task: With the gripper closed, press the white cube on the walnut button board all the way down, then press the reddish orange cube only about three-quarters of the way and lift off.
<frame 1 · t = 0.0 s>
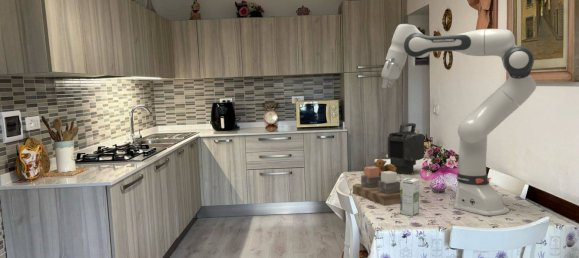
hand: (386, 87, 203), 52 cm above the table, tool tilted 20°, fingers open, 8 cm apart
stuffed squirrel: (382, 182, 242), on the table
black device with handle: (404, 173, 265), on the table
white cube: (388, 177, 202), point 11 cm above the table, slide at 0.0 cm
reddish orange cube: (371, 172, 215), point 11 cm above the table, slide at 0.0 cm
button board: (380, 197, 209), on the table
syrup box: (409, 214, 182), on the table
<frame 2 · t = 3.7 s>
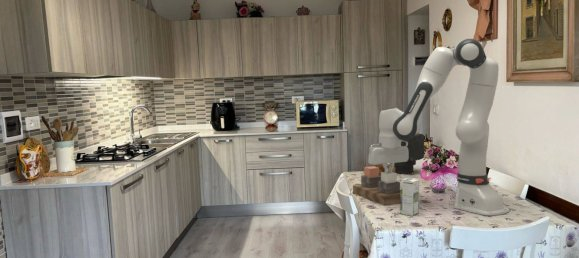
hand: (388, 172, 202), 13 cm above the table, tool pointing down, fingers closed, pressing on white cube
white cube: (388, 178, 202), point 11 cm above the table, slide at 0.3 cm, touching gripper
everything else where it was.
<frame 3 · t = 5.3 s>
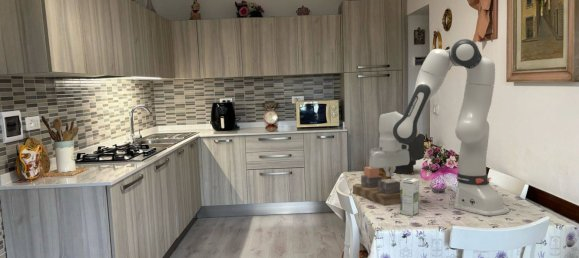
hand: (389, 176, 202), 11 cm above the table, tool pointing down, fingers closed
white cube: (388, 185, 202), point 7 cm above the table, slide at 3.8 cm
everything else where it was.
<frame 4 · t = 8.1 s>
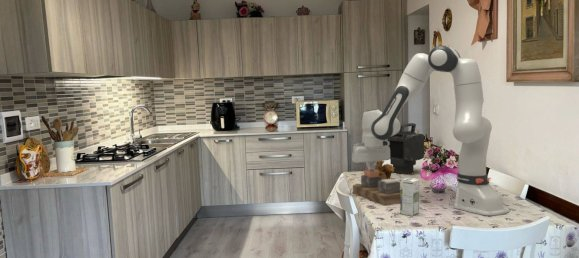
hand: (371, 170, 215), 12 cm above the table, tool pointing down, fingers closed, pressing on reddish orange cube
reddish orange cube: (371, 175, 215), point 9 cm above the table, slide at 1.6 cm, touching gripper
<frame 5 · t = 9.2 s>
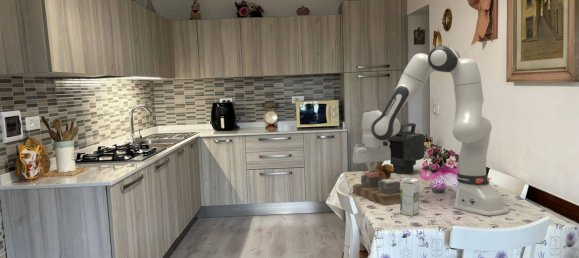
hand: (371, 171, 214), 11 cm above the table, tool pointing down, fingers closed
reddish orange cube: (371, 178, 215), point 8 cm above the table, slide at 2.9 cm
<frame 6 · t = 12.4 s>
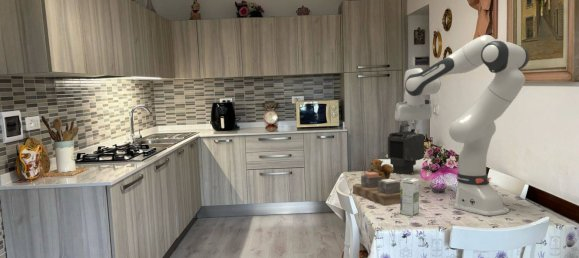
hand: (413, 129, 218), 31 cm above the table, tool pointing down, fingers closed
at the end: white cube slide at 3.8 cm; reddish orange cube slide at 2.9 cm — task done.
